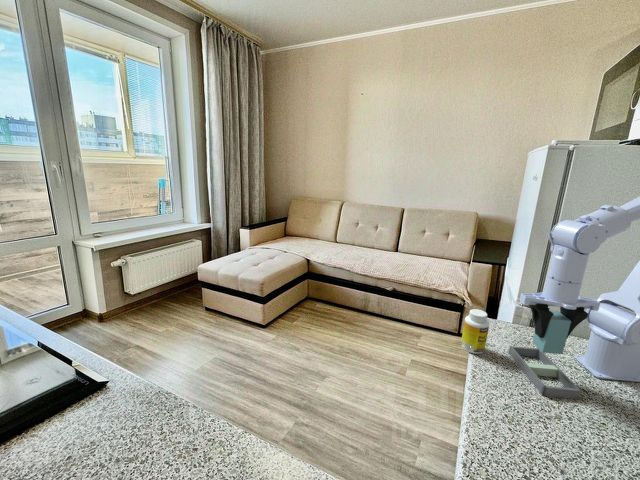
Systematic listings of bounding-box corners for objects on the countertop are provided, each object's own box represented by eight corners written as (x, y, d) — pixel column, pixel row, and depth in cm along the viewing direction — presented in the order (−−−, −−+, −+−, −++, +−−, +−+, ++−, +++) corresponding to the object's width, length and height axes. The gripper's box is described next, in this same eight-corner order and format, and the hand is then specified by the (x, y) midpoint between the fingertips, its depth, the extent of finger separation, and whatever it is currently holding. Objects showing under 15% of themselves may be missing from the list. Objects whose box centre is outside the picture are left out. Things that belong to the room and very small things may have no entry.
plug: (551, 343, 69) (559, 311, 67) (562, 354, 66) (571, 320, 63) (532, 341, 70) (539, 310, 68) (542, 352, 66) (550, 319, 64)
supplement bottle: (476, 357, 75) (483, 320, 72) (456, 346, 79) (461, 310, 77) (488, 350, 78) (495, 314, 75) (468, 340, 82) (474, 305, 80)
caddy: (538, 355, 76) (539, 348, 76) (578, 399, 62) (581, 390, 62) (508, 353, 77) (509, 346, 77) (542, 395, 63) (544, 387, 63)
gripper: (537, 283, 60) (524, 343, 64) (618, 288, 59) (600, 350, 62) (519, 271, 67) (508, 326, 71) (591, 275, 65) (576, 331, 69)
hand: (550, 336), depth 67 cm, fingers closed on plug, 4 cm apart
